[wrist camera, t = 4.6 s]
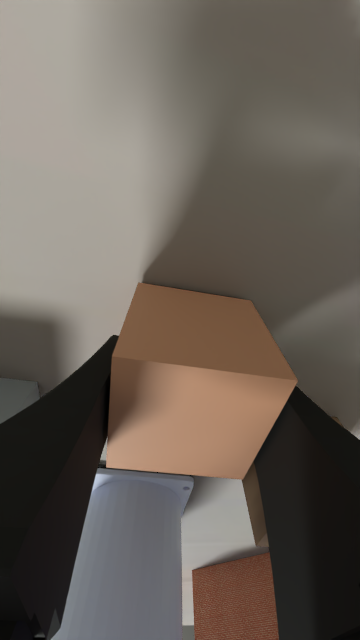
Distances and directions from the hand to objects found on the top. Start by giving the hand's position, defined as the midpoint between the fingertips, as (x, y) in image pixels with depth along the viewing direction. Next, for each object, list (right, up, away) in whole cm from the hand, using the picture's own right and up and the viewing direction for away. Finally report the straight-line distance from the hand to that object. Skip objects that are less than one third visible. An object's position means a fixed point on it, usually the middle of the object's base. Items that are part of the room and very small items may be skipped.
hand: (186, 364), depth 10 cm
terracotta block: (0, +1, +2) cm, 2 cm away
